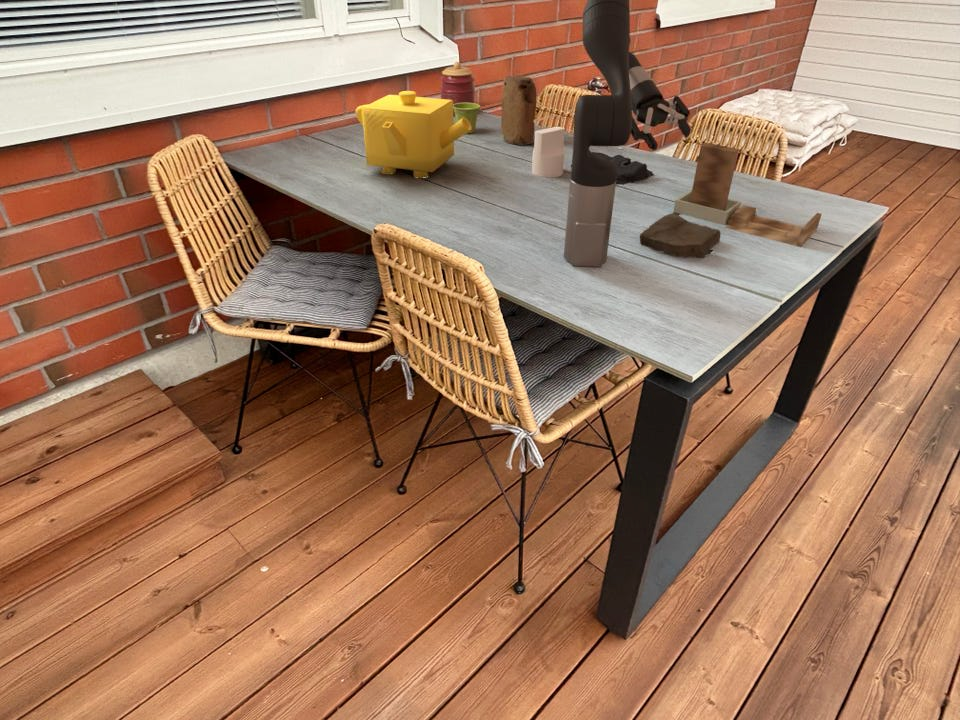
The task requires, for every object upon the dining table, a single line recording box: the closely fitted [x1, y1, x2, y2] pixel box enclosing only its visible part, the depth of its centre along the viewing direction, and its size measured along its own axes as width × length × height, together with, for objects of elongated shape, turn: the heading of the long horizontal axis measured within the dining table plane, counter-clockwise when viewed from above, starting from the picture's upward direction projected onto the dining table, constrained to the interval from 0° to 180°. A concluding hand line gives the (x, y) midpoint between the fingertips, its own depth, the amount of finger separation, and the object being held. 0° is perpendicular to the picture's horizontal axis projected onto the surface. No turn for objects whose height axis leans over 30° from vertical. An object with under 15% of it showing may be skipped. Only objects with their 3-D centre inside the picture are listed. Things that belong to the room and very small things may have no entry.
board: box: [690, 142, 740, 211], centre depth 155 cm, size 8×3×16 cm, turn 51°
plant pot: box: [453, 102, 481, 135], centre depth 220 cm, size 9×9×9 cm
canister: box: [439, 61, 476, 117], centre depth 240 cm, size 13×13×18 cm
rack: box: [724, 204, 822, 248], centre depth 150 cm, size 17×12×5 cm
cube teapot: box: [355, 90, 472, 179], centre depth 183 cm, size 35×30×21 cm
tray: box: [672, 189, 742, 226], centre depth 159 cm, size 13×9×4 cm
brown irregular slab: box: [639, 212, 721, 259], centre depth 145 cm, size 17×15×4 cm
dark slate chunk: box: [570, 151, 654, 186], centre depth 188 cm, size 15×22×5 cm
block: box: [500, 75, 537, 146], centre depth 207 cm, size 11×8×20 cm
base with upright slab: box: [531, 126, 566, 178], centre depth 184 cm, size 9×9×12 cm
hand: (672, 141), depth 152 cm, fingers open, 8 cm apart
